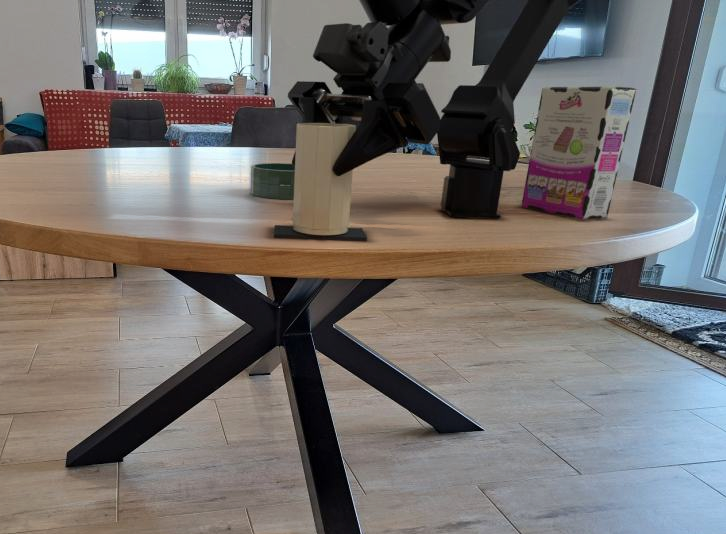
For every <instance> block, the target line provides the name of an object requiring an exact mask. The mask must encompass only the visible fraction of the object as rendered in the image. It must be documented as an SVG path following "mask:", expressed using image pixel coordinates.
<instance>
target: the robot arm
mask: <svg viewBox="0 0 726 534" xmlns="http://www.w3.org/2000/svg"><path fill="white" fill-rule="evenodd" d="M358 1H359V3H360V4H361V7H362V9H363V10H364V12H365V14H366V17H367V18H368V21H369V22H367V23H365V24H364V25H363V26H362V24H353V23H347V22H346V23H345V22H344V23H334V24H325V25H323V28H322V30H321V33H320V36H319V38H318V40H317V44H316V46H315V48H314V51H313V54H312V57H313V59H314V60H315V61H317V62H321V63H322V64H324V65H325V66H326V67H328V68H329V69H330V70H332V72H334V73H335V76H334V77H333V79H332V80H333V81H334V83H335V85H336V86H337V88H341V90H342V92H341V93H332V91H331V89H330V88H329V86H328V84H327V82H325V81H298V80H297V81H296V82H295V83H294V85H293V86H292V87H291V89H290V90H289V91H288V93H287V98H288V100H289V101H290V103H291V104H292V105H293V107H294V108H295V110H296V111H297V113H298V114H299V116H300V117H301V119H302V120H303V123H336V124H343V119H344V118H343V117H348V118H350V119H351V120H352V121H356V122H357V121H358V122H360V123H359V125H358V126H357V127H356V131H355V132H354V134H353V135H352V137H351V138H350V140H349V141H348V143H347V144H346V146H345V147H344V149H343V151H342V152H341V154H340V155H339V157H338V158H337V160H336V162H335V164H334V166H333V168H332V171H333V172H334V174H335V175H336V176H341V175H343V174H345V173H347V172H349V171H351V170H353V171H354V170H355V169H356V168H359V167H361V166H363V165H364V164H367V163H369V162H371V161H373V160H375V159H378V158H379V157H382V156H384V155H386V154H389V153H391V152H393V151H395V150H397V149H400V148H403V149H404V148H406V147H407V146H408V145H409V144H417V145H427V146H429V144H430V143H431V142H432V140H433V139H434V138H435V137H436V136H437V146H438V156H439V164H440V165H449V171H448V175H445V176H444V177H443V186H442V193H441V201H440V209H441V210H442V211H443V212H445V214H447V215H448V216H450V217H454V218H478V219H480V218H481V219H501V218H502V214H501V213H499V212H498V209H499V202H500V198H501V197H500V196H501V190H502V185H503V177H504V172H511V171H513V170H515V169H516V167H517V165H518V163H519V159H520V156H521V151H520V149H519V146H518V145H517V142H516V140H515V137H514V134H513V132H512V130H513V128H514V126H515V123H516V119H515V117H516V116H515V106H514V102H515V100H516V98H517V97H518V94H519V93H520V91H521V90H522V88H523V86H524V84H525V83H526V81H527V79H528V78H529V76H530V75H531V73H532V72H533V70H534V68H535V66H536V64H537V63H538V61H539V59H540V57H541V56H542V54H543V52H544V51H545V50H546V49H545V48H546V47H547V46H548V44H549V42H550V40H551V39H552V38H553V36H554V34H555V32H556V31H557V29H558V27H559V26H560V24H561V22H562V21H563V19H564V17H565V15H566V14H567V12H568V11H569V9H571V8H572V7H573V6H575V5H576V4H578V3H579V2H581V1H582V0H527V1H526V3H525V5H524V7H523V9H522V10H521V11H520V14H519V15H518V17H517V18H516V20H515V22H514V24H513V25H512V27H511V29H510V30H509V32H508V34H507V35H506V37H505V39H504V41H502V44H501V45H500V46H499V49H498V50H497V51H496V54H495V55H494V57H493V59H492V60H491V62H490V64H489V66H487V68H486V70H485V72H484V74H483V75H482V77H481V78H480V80H479V81H478V82H477V83H476V84H475V85H471V84H469V85H468V84H467V85H465V84H460V85H458V86H457V87H456V88H455V89H454V91H453V92H452V95H451V97H450V99H449V100H448V103H447V104H446V105H445V107H443V108H442V109H441V112H440V113H442V116H441V117H440V114H439V113H438V110H437V108H436V106H435V104H434V102H433V101H432V98H431V96H430V94H429V93H428V90H427V88H426V86H425V84H424V83H422V82H417V81H416V79H417V78H418V76H419V75H420V74H421V72H422V71H423V70H424V68H425V67H426V66H427V65H428V63H448V62H450V61H451V58H452V50H451V48H450V47H451V46H450V36H449V35H446V33H445V31H444V29H443V27H442V25H443V26H444V25H456V24H458V25H459V24H467V23H470V22H472V21H473V20H474V19H475V18H476V17H477V16H478V15H479V13H481V11H482V10H483V9H484V8H485V7H486V6H487V5H488V4H489V2H490V1H491V0H358ZM295 156H296V149H295V150H294V153H293V156H292V159H291V163H292V164H293V166H294V167H295ZM468 156H469V157H477V158H485V159H488V160H484V159H477V158H476V159H475V158H468Z"/></svg>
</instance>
